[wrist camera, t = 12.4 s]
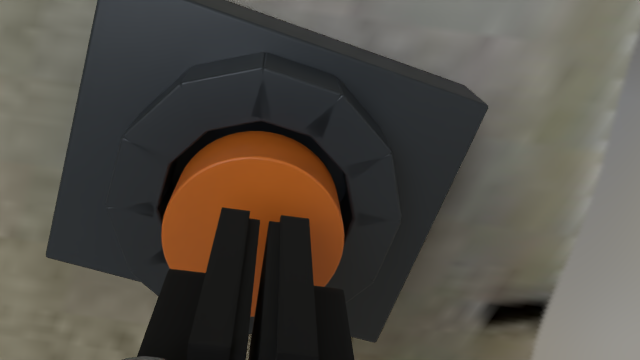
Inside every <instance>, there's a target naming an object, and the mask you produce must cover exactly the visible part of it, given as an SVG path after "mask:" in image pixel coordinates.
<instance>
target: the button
mask: <svg viewBox="0 0 640 360" xmlns="http://www.w3.org/2000/svg"><path fill="white" fill-rule="evenodd" d="M222 207H224V208H231V209H239V210H247V211H250V216H249V218H251V219H258V220H260V228H259V237H258V247H257V257H256V267H255V276H254V286H253V296H252V306H251V315H250V317H254V316H255V310H256V303H257V296H258V290H259V283H260V277H261V270H262V264H263V257H264V250H265V244H266V237H267V231H268V224H269V221H274V222H280V217H281V215H285V216H293V217H300V218H308V219H309V223H310V238H311V252H312V267H313V282H314V286H322V287H325V286H326V284H327V283H328V282H329V281H330V279H331V278H332V276H333V275H334V273H335V271H336V269H337V267H338V265H339V263H340V260H341V257H342V253H343V248H344V226H343V220H342V215H341V210H340V205H339V200H338V195H337V190H336V187H335V183H334V181H333V179H332V176H331V174H330V172H329V171H328V169H327V167H326V166H325V165H324V163H323V162H322V161H321V160H320V158H319V157H318V156H316V155H315V154H314V153H313V152H312V151H311V150H310V149H308V148H307V147H306V146H304V145H303V144H301V143H299V142H297V141H296V140H294V139H291V138H289V137H286V136H284V135H280V134H276V133H272V132H265V131H246V132H238V133H234V134H230V135H227V136H224V137H222V138H219V139H217V140H215V141H213V142H211V143H210V144H208V145H206V146H205V147H204V148H202V149H201V150H200V151H199V152H198V153H197V154H196V155H195V156H194V157H193V158H192V159H191V160H190V161H189V163H188V164H187V165H186V167H185V168H184V170H183V172H182V174H181V176H180V178H179V180H178V182H177V185H176V187H175V189H174V191H173V194H172V196H171V198H170V201H169V203H168V205H167V208H166V211H165V213H164V217H163V222H162V229H161V240H162V248H163V252H164V256H165V259H166V261H167V264H168V266H169V268H170V269H177V270H186V271H194V272H203V273H206V270H207V266H208V261H209V257H210V253H211V249H212V245H213V241H214V237H215V233H216V229H217V225H218V221H219V217H220V213H221V209H222Z"/></svg>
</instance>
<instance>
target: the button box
mask: <svg viewBox="0 0 640 360" xmlns="http://www.w3.org/2000/svg"><path fill="white" fill-rule="evenodd" d="M487 109H488V105H487V104H486V103H484V102H483V101H482V100H481V99H480V98H479V97H477V96H476V95H475V94H474V93H473V92H471V91H470V90H469V89H468V88H467V87H466V86H464V85H462V84H459V83H456V82H453V81H450V80H448V79H445V78H442V77H439V76H436V75H434V74H431V73H428V72H425V71H422V70H420V69H417V68H414V67H411V66H408V65H405V64H403V63H400V62H397V61H394V60H391V59H389V58H386V57H383V56H380V55H377V54H375V53H372V52H369V51H366V50H363V49H361V48H358V47H355V46H352V45H349V44H347V43H344V42H341V41H338V40H335V39H332V38H330V37H327V36H324V35H321V34H318V33H316V32H313V31H310V30H307V29H304V28H302V27H299V26H296V25H293V24H290V23H288V22H285V21H282V20H279V19H276V18H274V17H271V16H268V15H265V14H262V13H259V12H257V11H254V10H251V9H248V8H245V7H243V6H240V5H237V4H234V3H231V2H229V1H226V0H98V1H97V5H96V10H95V15H94V20H93V25H92V30H91V35H90V40H89V45H88V50H87V54H86V59H85V64H84V69H83V74H82V79H81V84H80V89H79V94H78V99H77V103H76V108H75V113H74V118H73V123H72V128H71V133H70V138H69V143H68V148H67V152H66V157H65V162H64V167H63V172H62V177H61V182H60V187H59V192H58V197H57V202H56V206H55V211H54V216H53V221H52V226H51V231H50V236H49V241H48V246H47V251H46V257H48V258H51V259H55V260H59V261H63V262H66V263H70V264H74V265H78V266H82V267H86V268H89V269H93V270H97V271H101V272H105V273H109V274H113V275H116V276H120V277H124V278H128V279H132V280H136V281H139V282H142V283H143V284H144V285H146V286H147V287H148V288H149V289H150V290H152V291H153V292H154V293H155V294H156V295H157V296H159V294H160V292H161V289H162V286H163V283H164V280H165V278H166V275H167V273H168V270H169V269H170V268H169V266H168V264H167V261H166V259H165V256H164V252H163V248H162V240H161V229H162V222H163V217H164V213H165V211H166V208H167V205H168V203H169V201H170V198H171V196H172V194H173V191H174V189H175V187H176V185H177V182H178V180H179V178H180V176H181V174H182V172H183V170H184V168H185V167H186V165H187V164H188V163H189V161H190V160H191V159H192V158H193V157H194V156H195V155H196V154H197V153H198V152H199V151H200V150H201V149H202V148H204V147H205V146H206V145H208V144H210V143H211V142H213V141H215V140H217V139H219V138H222V137H224V136H227V135H230V134H234V133H238V132H246V131H265V132H272V133H276V134H280V135H284V136H286V137H289V138H291V139H294V140H296V141H297V142H299V143H301V144H303V145H304V146H306V147H307V148H308V149H310V150H311V151H312V152H313V153H314V154H315V155H316V156H318V157H319V158H320V160H321V161H322V162H323V163H324V165H325V166H326V167H327V169H328V171H329V172H330V174H331V176H332V179H333V181H334V183H335V187H336V190H337V195H338V200H339V205H340V210H341V215H342V220H343V226H344V248H343V253H342V257H341V260H340V263H339V265H338V267H337V269H336V271H335V273H334V275H333V276H332V278H331V279H330V281H329V282H328V283H327V284H326V286H325V287H330V288H339V289H342V290H343V291H344V295H345V302H346V309H347V315H348V322H349V328H350V335H351V337H355V338H359V339H363V340H366V341H370V342H376V341H377V339H378V337H379V335H380V333H381V331H382V329H383V327H384V325H385V323H386V320H387V318H388V316H389V314H390V312H391V310H392V308H393V306H394V304H395V302H396V300H397V297H398V295H399V293H400V291H401V289H402V287H403V285H404V283H405V281H406V279H407V277H408V274H409V272H410V270H411V268H412V266H413V264H414V262H415V260H416V258H417V256H418V254H419V251H420V249H421V247H422V245H423V243H424V241H425V239H426V237H427V235H428V233H429V231H430V228H431V226H432V224H433V222H434V220H435V218H436V216H437V214H438V212H439V210H440V207H441V205H442V203H443V201H444V199H445V197H446V195H447V193H448V191H449V189H450V187H451V184H452V182H453V180H454V178H455V176H456V174H457V172H458V170H459V168H460V166H461V164H462V161H463V159H464V157H465V155H466V153H467V151H468V149H469V147H470V145H471V143H472V141H473V138H474V136H475V134H476V132H477V130H478V128H479V126H480V124H481V122H482V120H483V117H484V115H485V113H486V111H487ZM253 323H254V317H250V325H249V334H252V329H253Z"/></svg>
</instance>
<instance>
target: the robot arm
mask: <svg viewBox="0 0 640 360" xmlns="http://www.w3.org/2000/svg"><path fill="white" fill-rule="evenodd" d="M249 216H250V211H247V210H239V209H231V208H224V207H222V209H221V213H220V217H219V221H218V225H217V229H216V233H215V237H214V241H213V245H212V249H211V253H210V257H209V261H208V266H207V270H206V273H203V272H194V271H186V270H177V269H169V270H168V273H167V275H166V278H165V280H164V283H163V286H162V289H161V292H160V294H159V297H158V300H157V303H156V305H155V308H154V311H153V314H152V317H151V319H150V322H149V325H148V328H147V330H146V333H145V336H144V339H143V342H142V344H141V347H140V350H139V353H138V355H137V357H132V358H126V359H123V360H245V359H246V352H247V344H248V335H249V325H250V315H251V306H252V296H253V286H254V276H255V267H256V257H257V247H258V237H259V228H260V220H258V219H251V218H249ZM249 360H354V355H353V348H352V342H351V335H350V328H349V322H348V315H347V309H346V302H345V295H344V291H343V290H342V289H339V288H330V287H322V286H314V282H313V267H312V252H311V238H310V223H309V219H308V218H300V217H293V216H285V215H281V217H280V222H274V221H269V224H268V231H267V237H266V244H265V250H264V257H263V264H262V270H261V277H260V283H259V290H258V296H257V303H256V310H255V316H254V323H253V329H252V336H251V344H250V352H249Z"/></svg>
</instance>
